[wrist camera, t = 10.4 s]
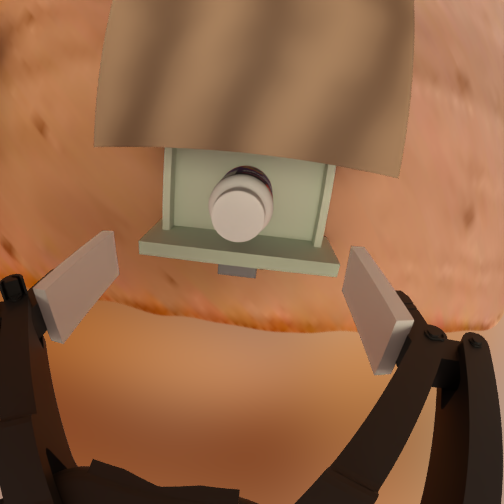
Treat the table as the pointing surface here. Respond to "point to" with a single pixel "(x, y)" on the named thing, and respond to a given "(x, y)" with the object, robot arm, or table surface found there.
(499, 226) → the table surface
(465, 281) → the table surface
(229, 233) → the pill bottle
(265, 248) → the drawer
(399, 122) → the housing
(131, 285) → the table surface
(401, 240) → the table surface
